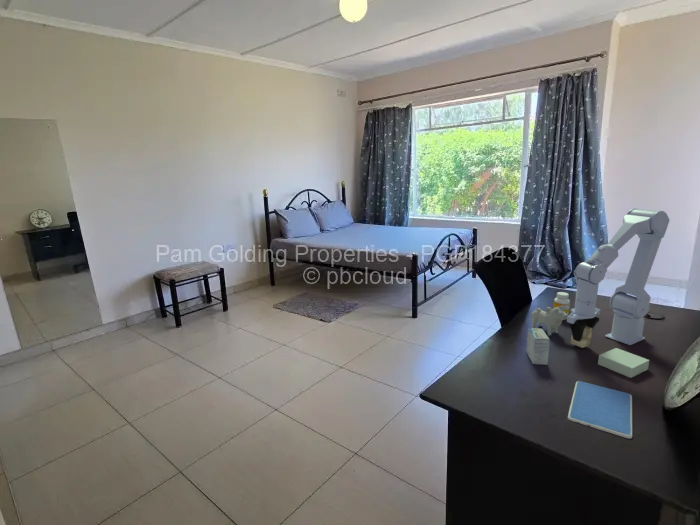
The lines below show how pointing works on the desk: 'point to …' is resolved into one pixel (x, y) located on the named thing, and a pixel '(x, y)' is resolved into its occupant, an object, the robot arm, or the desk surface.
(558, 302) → the supplement bottle
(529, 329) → the medicine box
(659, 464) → the desk surface
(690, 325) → the desk surface
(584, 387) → the tablet computer
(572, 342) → the maple block
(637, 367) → the sage base block
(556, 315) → the white animal figurine
